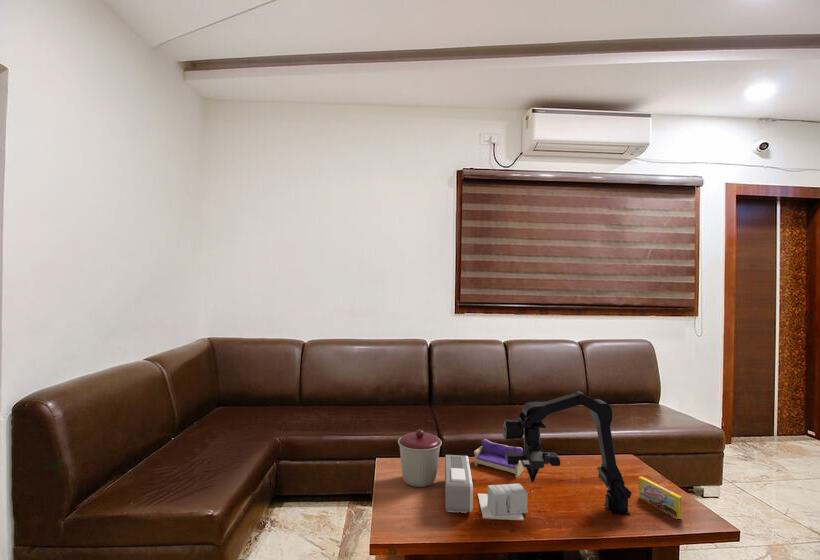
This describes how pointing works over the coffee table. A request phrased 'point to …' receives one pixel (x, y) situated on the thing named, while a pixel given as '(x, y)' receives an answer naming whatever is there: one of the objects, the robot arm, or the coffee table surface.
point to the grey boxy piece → (458, 484)
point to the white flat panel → (488, 513)
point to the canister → (419, 457)
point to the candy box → (660, 497)
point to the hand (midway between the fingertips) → (532, 481)
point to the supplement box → (507, 499)
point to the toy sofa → (497, 457)
